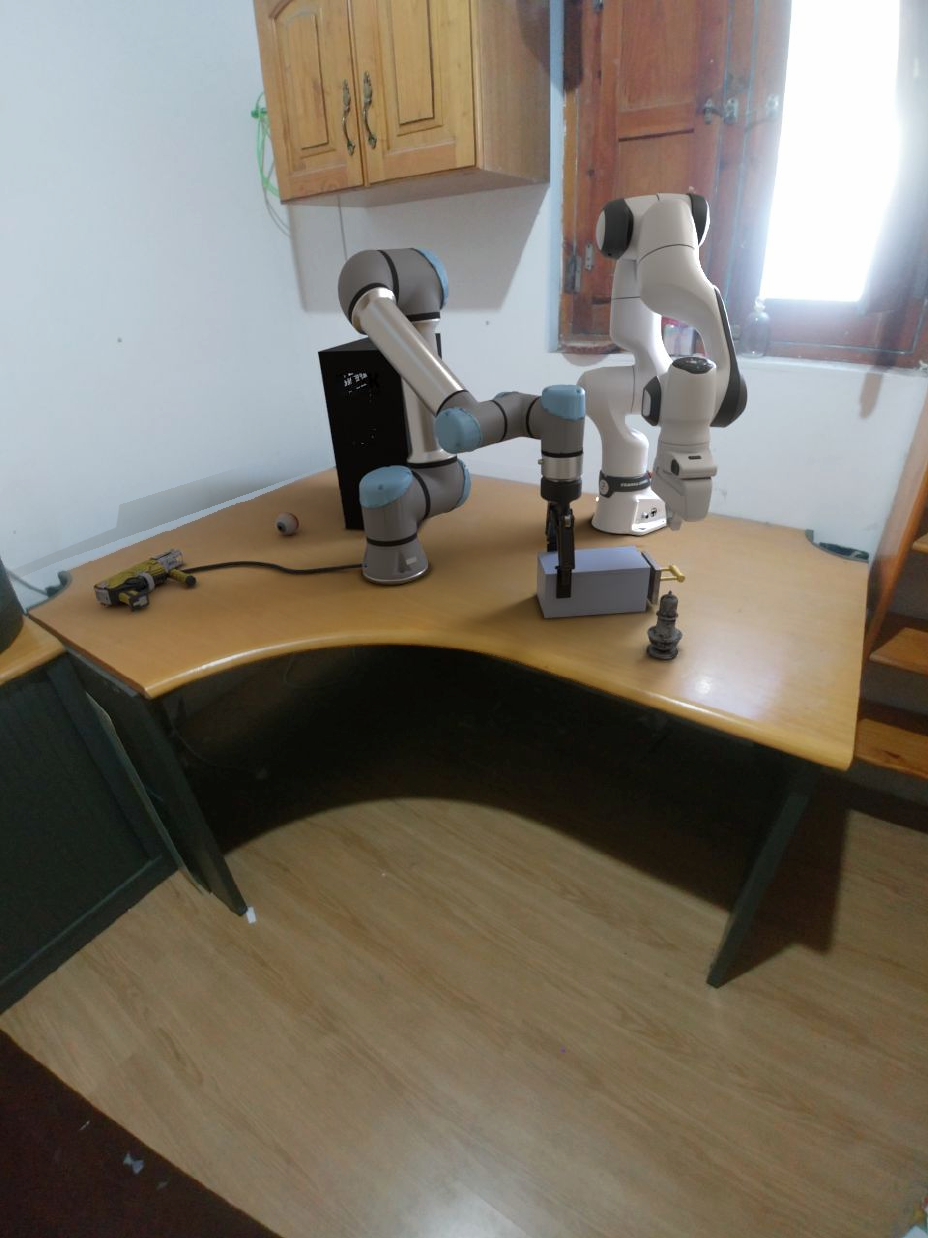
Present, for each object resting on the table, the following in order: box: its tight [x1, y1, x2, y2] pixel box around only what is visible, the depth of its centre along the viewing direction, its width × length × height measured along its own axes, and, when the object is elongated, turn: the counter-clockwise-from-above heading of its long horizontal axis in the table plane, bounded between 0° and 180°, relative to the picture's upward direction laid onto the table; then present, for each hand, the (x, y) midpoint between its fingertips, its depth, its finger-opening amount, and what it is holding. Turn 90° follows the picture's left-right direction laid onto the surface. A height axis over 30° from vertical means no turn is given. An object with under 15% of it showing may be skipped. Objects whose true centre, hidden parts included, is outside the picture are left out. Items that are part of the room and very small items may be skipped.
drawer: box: [640, 550, 686, 606], centre depth 121 cm, size 24×9×8 cm, turn 93°
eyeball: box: [275, 511, 300, 536], centre depth 163 cm, size 6×6×6 cm
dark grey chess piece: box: [646, 589, 683, 660], centre depth 104 cm, size 6×6×12 cm
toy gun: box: [93, 548, 197, 612], centre depth 139 cm, size 5×24×15 cm
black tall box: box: [317, 332, 443, 530], centre depth 169 cm, size 38×20×45 cm, turn 167°
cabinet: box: [536, 545, 651, 619], centre depth 121 cm, size 20×10×10 cm, turn 93°
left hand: (558, 584), depth 121 cm, fingers closed on cabinet, 10 cm apart
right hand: (672, 527), depth 116 cm, fingers closed
